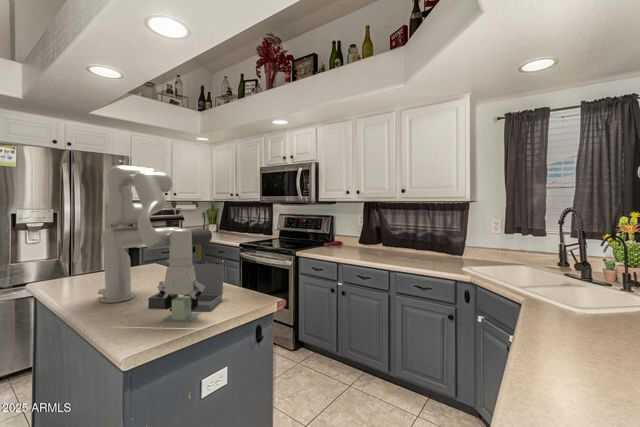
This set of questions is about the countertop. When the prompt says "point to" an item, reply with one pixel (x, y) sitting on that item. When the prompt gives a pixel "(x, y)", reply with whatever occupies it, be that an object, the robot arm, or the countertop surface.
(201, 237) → the rubber mallet
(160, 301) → the square socket block
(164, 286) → the rod
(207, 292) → the lid
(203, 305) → the case
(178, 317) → the block
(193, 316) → the mat
